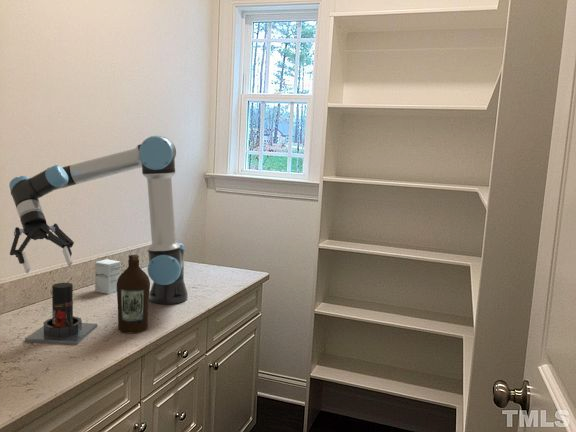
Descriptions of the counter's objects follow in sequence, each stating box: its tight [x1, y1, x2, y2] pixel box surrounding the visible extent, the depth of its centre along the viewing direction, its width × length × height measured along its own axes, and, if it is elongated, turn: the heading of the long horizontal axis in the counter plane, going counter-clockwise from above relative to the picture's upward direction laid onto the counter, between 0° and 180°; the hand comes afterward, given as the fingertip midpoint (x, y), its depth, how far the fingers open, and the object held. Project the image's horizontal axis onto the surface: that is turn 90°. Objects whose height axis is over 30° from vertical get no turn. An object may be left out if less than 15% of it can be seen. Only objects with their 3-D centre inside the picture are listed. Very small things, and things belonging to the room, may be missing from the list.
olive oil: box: [116, 254, 151, 334], centre depth 169 cm, size 11×11×25 cm
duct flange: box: [24, 315, 98, 346], centre depth 163 cm, size 16×16×4 cm
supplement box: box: [94, 258, 122, 295], centre depth 211 cm, size 7×7×13 cm
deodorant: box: [51, 282, 74, 327], centre depth 162 cm, size 6×6×15 cm
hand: (49, 267), depth 169 cm, fingers open, 13 cm apart
